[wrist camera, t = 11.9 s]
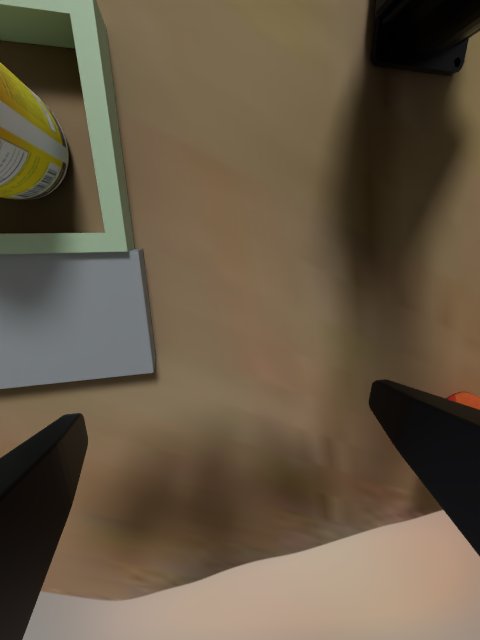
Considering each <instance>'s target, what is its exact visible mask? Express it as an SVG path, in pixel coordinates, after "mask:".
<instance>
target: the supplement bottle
mask: <svg viewBox="0 0 480 640" xmlns="http://www.w3.org/2000/svg"><path fill="white" fill-rule="evenodd" d="M68 160H69V154H68V146H67V142H66V138H65V135H64V133H63V130H62V128H61V126H60V124H59V122H58V121H57V119H56V117H55V116H54V114H53V113H52V112H51V110H50V109H49V108H48V107H47V105H46V104H45V103H44V102H43V101H42V100H41V99H40V98H39V97H38V96H37V95H35V94H34V93H33V92H32V91H31V90H30V89H29V88H28V87H27V86H26V85H25V84H23V83H22V82H21V81H20V80H19V79H18V78H17V77H16V76H15V75H14V74H12V73H11V72H10V71H9V70H8V69H7V68H6V67H5V66H4V65H3V64H2V63H1V62H0V197H2V198H7V199H14V200H33V199H37V198H41V197H44V196H46V195H48V194H49V193H51V192H53V191H54V190H55V189H56V188H57V187H58V186H59V185H60V183H61V182H62V180H63V179H64V177H65V174H66V171H67V167H68Z"/></svg>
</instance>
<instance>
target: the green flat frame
mask: <svg viewBox="0 0 480 640" xmlns="http://www.w3.org/2000/svg"><path fill="white" fill-rule="evenodd" d="M0 40H3V41H12V42H21V43H30V44H39V45H47V46H56V47H65V48H74V49H76V54H77V61H78V67H79V73H80V79H81V86H82V92H83V98H84V104H85V110H86V117H87V123H88V129H89V135H90V141H91V148H92V154H93V160H94V166H95V173H96V179H97V185H98V191H99V197H100V204H101V210H102V216H103V222H104V228H105V233H14V234H0V389H5V388H15V387H24V386H34V385H43V384H52V383H62V382H71V381H80V380H90V379H99V378H108V377H118V376H127V375H137V374H146V373H154V368H155V363H156V354H155V346H154V337H153V329H152V321H151V312H150V304H149V296H148V287H147V279H146V271H145V263H144V254H143V249H135V247H134V239H133V232H132V224H131V216H130V209H129V201H128V193H127V185H126V178H125V170H124V162H123V155H122V147H121V139H120V131H119V124H118V116H117V108H116V100H115V93H114V85H113V77H112V70H111V62H110V54H109V46H108V39H107V31H106V26H105V24H104V21H103V18H102V15H101V13H100V10H99V7H98V5H97V2H96V0H0Z"/></svg>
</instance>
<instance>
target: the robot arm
mask: <svg viewBox="0 0 480 640" xmlns="http://www.w3.org/2000/svg"><path fill="white" fill-rule="evenodd" d="M375 15H376V17H375V26H374V34H373V43H372V51H371V60H372V63H373V64H374V65H376V66H380V67H388V68H396V69H404V70H411V71H419V72H427V73H435V74H443V75H453V74H455V73H456V72H458V71H459V70H460V69H461V68H462V66H463V63H464V59H465V54H466V49H467V44H468V39H469V38H470V37H471V36H473V35H474V34H476V33H477V32H479V31H480V0H376V7H375ZM379 51H380V52H381V53H382V57H380V55H379ZM454 63H455V66H454ZM369 406H370V409H371V410H372V412H373V414H374V415H375V417H376V418H377V420H378V421H379V423H380V424H381V426H382V427H383V429H384V431H385V432H386V434H387V435H388V437H389V438H390V440H391V441H392V443H393V444H394V446H395V447H396V449H397V450H398V451H399V453H400V454H401V455H402V457H403V458H404V459H405V461H406V462H407V463H408V465H409V466H410V467H411V468H412V470H413V471H414V472H415V474H416V475H417V476H418V477H419V479H420V480H421V481H422V483H423V484H424V485H425V486H426V488H427V489H428V490H429V492H430V493H431V494H432V495H433V497H434V498H435V499H436V501H437V502H438V503H439V505H440V506H441V507H442V508H443V510H444V511H445V512H446V514H447V515H448V516H449V517H450V519H451V520H452V521H453V523H454V524H455V525H456V526H457V528H458V529H459V530H460V531H461V533H462V534H463V535H464V537H465V538H466V539H467V540H468V542H469V543H470V544H471V546H472V547H473V548H474V550H475V551H476V552H477V554H478V555H479V556H480V410H479V409H476V408H473V407H470V406H467V405H464V404H461V403H458V402H454V401H451V400H448V399H445V398H442V397H439V396H436V395H433V394H430V393H427V392H424V391H420V390H417V389H414V388H411V387H408V386H405V385H402V384H399V383H396V382H393V381H390V380H385V379H384V380H376V381H374V382H373V383H372V387H371V392H370V397H369ZM87 446H88V436H87V431H86V426H85V421H84V417H83V415H82V414H81V413H75V414H66V415H64V416H62V417H60V418H59V419H57V420H56V421H54V422H53V423H52V424H50V425H49V426H47V427H46V428H44V429H43V430H41V431H40V432H38V433H37V434H35V435H34V436H32V437H31V438H29V439H28V440H26V441H25V442H23V443H22V444H20V445H19V446H18V447H16V448H15V449H13V450H12V451H10V452H9V453H7V454H6V455H4V456H3V457H1V458H0V640H22V639H23V636H24V634H25V631H26V628H27V625H28V623H29V620H30V617H31V614H32V612H33V609H34V607H35V604H36V601H37V599H38V596H39V593H40V591H41V588H42V585H43V583H44V580H45V577H46V574H47V572H48V569H49V566H50V564H51V561H52V558H53V556H54V553H55V550H56V548H57V545H58V542H59V540H60V537H61V534H62V532H63V529H64V526H65V523H66V521H67V518H68V515H69V512H70V510H71V507H72V504H73V500H74V496H75V493H76V489H77V485H78V481H79V477H80V473H81V469H82V466H83V462H84V458H85V454H86V450H87Z"/></svg>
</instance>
